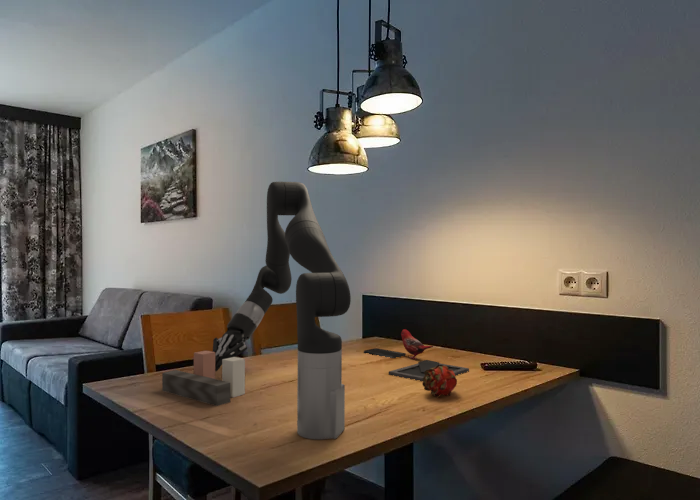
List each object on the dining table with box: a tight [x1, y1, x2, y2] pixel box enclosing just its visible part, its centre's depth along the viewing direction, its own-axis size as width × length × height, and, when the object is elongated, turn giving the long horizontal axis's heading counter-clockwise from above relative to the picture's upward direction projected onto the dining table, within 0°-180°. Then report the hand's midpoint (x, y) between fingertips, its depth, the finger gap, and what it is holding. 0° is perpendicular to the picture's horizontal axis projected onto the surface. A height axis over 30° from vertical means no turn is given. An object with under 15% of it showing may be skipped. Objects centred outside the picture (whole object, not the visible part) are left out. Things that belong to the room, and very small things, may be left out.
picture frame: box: [388, 359, 470, 382], centre depth 160 cm, size 16×2×21 cm
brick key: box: [193, 350, 216, 379], centre depth 139 cm, size 4×4×9 cm
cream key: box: [221, 356, 246, 398], centre depth 130 cm, size 4×4×9 cm
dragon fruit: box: [421, 366, 458, 398], centre depth 135 cm, size 8×8×12 cm
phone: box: [363, 347, 407, 359], centre depth 189 cm, size 8×1×15 cm
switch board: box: [161, 369, 231, 407], centre depth 133 cm, size 23×16×6 cm
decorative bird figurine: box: [400, 328, 434, 360], centre depth 179 cm, size 3×18×10 cm, turn 33°
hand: (212, 369), depth 141 cm, fingers closed
